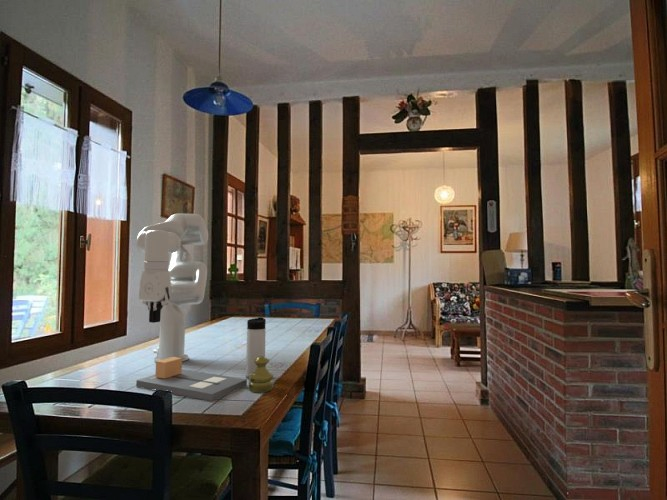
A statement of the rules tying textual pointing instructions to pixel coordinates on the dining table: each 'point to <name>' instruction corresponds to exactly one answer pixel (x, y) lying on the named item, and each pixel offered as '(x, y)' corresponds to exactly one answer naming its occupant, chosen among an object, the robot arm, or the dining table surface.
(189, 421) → the dining table surface
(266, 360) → the olive metallic turned piece
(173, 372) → the fader knob
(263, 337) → the travel mug
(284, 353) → the dining table surface
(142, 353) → the dining table surface
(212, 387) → the fader console
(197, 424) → the dining table surface
